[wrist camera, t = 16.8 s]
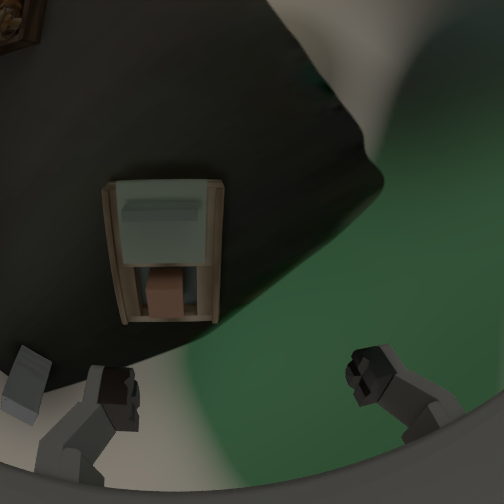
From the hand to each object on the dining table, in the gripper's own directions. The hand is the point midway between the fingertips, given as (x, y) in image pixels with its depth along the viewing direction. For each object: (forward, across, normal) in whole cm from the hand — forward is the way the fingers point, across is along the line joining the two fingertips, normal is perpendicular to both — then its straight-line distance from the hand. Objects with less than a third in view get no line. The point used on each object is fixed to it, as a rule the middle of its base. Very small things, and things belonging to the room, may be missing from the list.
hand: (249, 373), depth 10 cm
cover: (+26, +5, +5) cm, 26 cm away
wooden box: (+29, +5, +10) cm, 31 cm away
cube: (+28, +5, +15) cm, 32 cm away
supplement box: (+29, +35, +35) cm, 58 cm away
